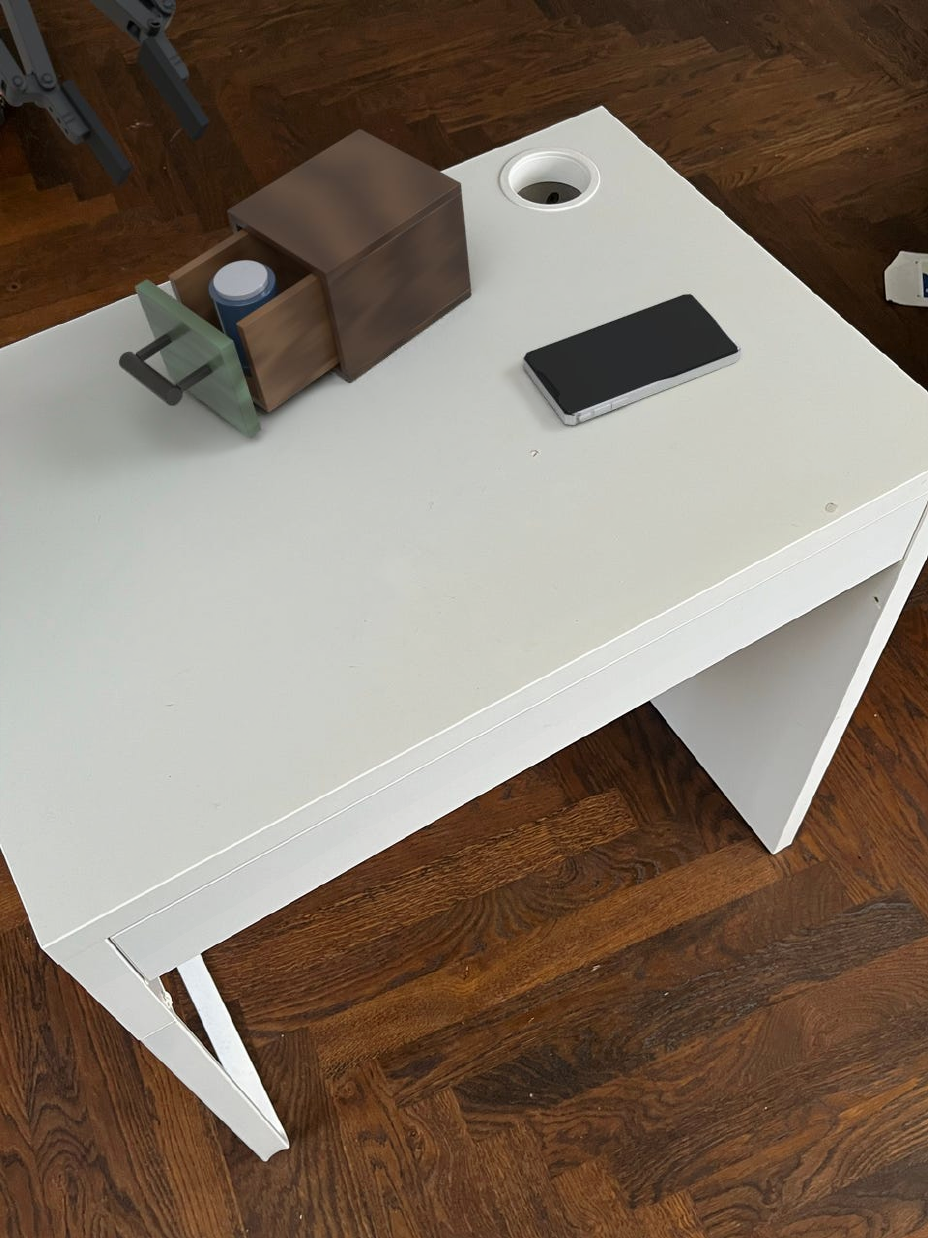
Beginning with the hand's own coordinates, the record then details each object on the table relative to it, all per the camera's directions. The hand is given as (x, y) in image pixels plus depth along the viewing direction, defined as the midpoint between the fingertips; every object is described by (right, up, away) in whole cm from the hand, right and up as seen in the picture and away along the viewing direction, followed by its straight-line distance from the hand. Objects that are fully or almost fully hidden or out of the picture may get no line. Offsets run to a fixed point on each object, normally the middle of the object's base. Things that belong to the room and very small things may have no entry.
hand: (163, 153), depth 79 cm
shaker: (+5, -12, +11) cm, 16 cm away
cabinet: (+13, -6, +16) cm, 21 cm away
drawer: (+4, -13, +11) cm, 18 cm away
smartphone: (+34, -13, +10) cm, 37 cm away
